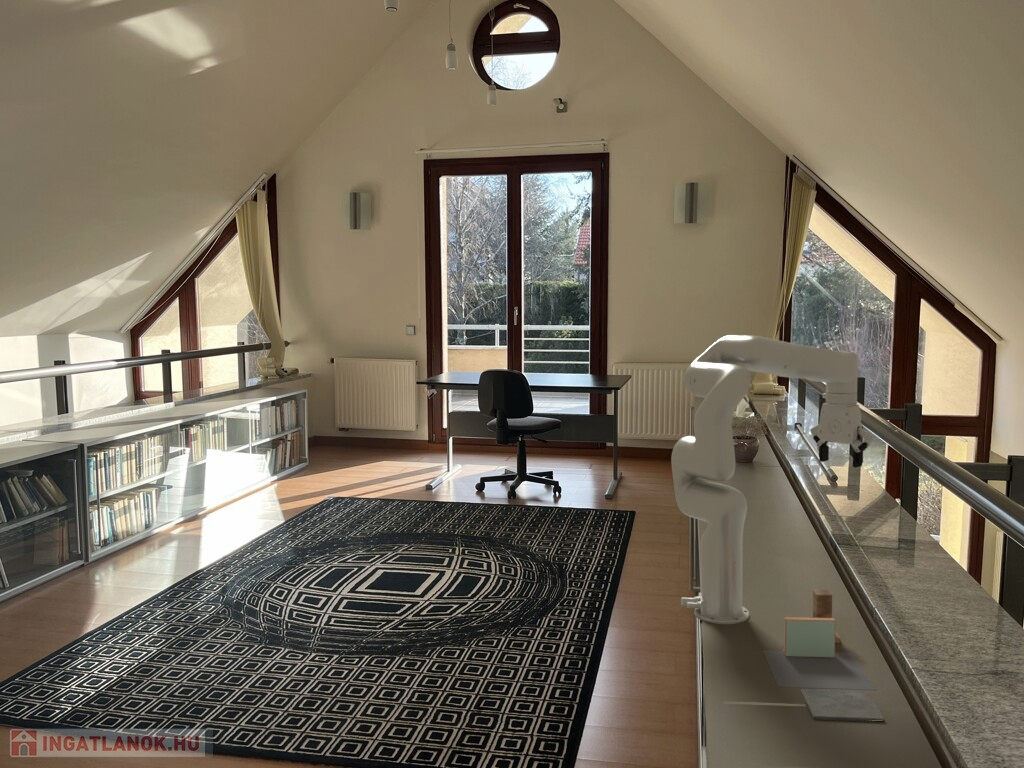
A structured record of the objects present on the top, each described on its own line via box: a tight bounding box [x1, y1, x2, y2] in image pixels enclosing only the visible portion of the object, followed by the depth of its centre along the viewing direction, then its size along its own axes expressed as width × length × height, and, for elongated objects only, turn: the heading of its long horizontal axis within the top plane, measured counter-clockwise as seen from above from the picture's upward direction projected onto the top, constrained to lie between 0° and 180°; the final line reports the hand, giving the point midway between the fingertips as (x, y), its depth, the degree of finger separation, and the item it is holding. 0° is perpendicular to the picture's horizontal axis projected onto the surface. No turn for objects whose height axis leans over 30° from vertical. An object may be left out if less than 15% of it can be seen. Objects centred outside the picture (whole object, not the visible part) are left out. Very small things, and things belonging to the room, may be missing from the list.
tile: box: [783, 616, 836, 658], centre depth 167 cm, size 10×1×8 cm, turn 83°
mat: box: [762, 650, 877, 691], centre depth 161 cm, size 18×16×1 cm
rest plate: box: [800, 688, 885, 722], centre depth 147 cm, size 12×10×1 cm
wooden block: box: [812, 589, 841, 644], centre depth 176 cm, size 6×6×10 cm
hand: (840, 463), depth 211 cm, fingers open, 9 cm apart
